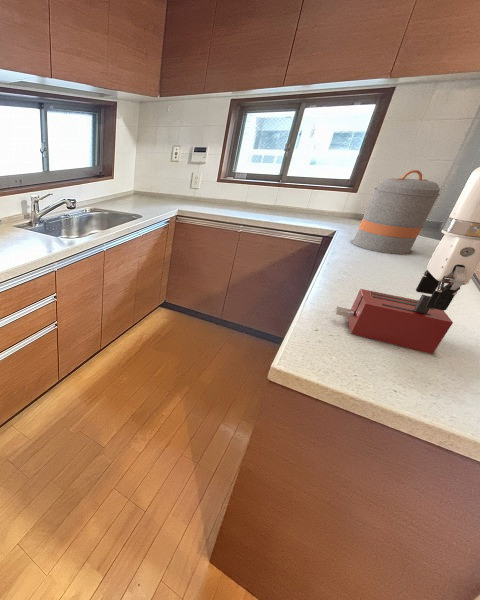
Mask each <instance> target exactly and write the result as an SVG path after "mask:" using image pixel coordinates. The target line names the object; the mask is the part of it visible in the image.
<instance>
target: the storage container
mask: <svg viewBox="0 0 480 600" xmlns="http://www.w3.org/2000/svg"><path fill="white" fill-rule="evenodd" d="M413 173H415V174H417V176H418V179H416V178H407V177H408V176H409V175H410V174H413ZM440 191H441V188H440V187H439V184H438V183H437V182H436V181H431V180H428V179H426V178H423V174H422V172H421V171H420V170H418V169H413V170H409V171H407V172H405V174H404V175H402V177H391V178H386V179H384V180H382V181H380V182H378V184H377V186H376V187H374V188H373V194H372V195H371V198H370V200H369V203H368V205H367V206H366V207H367V208H366V210H365V212H364V214H363V218H362V219H361V222H360V224H359V226H358V229H357V231H356V233H355V236H354V238H353V239H352V244H353V245H354V246H357V247H359V248H363V249H365V250H369V251H375V252H379V253H384V254H385V253H386V254H394V255H406V254H407V255H408V254H409V253H411V251H412V248H413V246H414V245H415V242H416V240H417V238H418V236H419V235H420V232H421V230H422V229H423V226H424V225H425V223H426V221H427V219H428V217H429V215H430V213H431V211H432V209H433V207H434V205H435V203H436V201H437V199H438V197H440V196H441V194H440Z"/></svg>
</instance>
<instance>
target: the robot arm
mask: <svg viewBox="0 0 480 600" xmlns="http://www.w3.org/2000/svg"><path fill="white" fill-rule="evenodd" d="M440 233H442V234H443V236H442V238H441V239H440V241H439V243H438V244H437V246H436V248H435V250H434V251H433V253H432V255H431V256H430V258H429V261H428V263H427V266H426V270H425V271H424V273H423V276H422V277H421V279H420V281H419V283H418V285H417V286H416V288H415V291H416V292H417V293H421V294H425V295H426V294H427V295H430V296H431V297H430V299H429V301H428V303H427V305H426V306H427V307H428V308H433V309H438V310H444V311H446V310H447V309H448V308H449V306H450V305H451V303H452V301H453V300H454V298H455V296H457V294H458V292H459V291H460V290H461V287H462V286H466V285H468V284H469V283H470V281H471V279H472V278H473V276H474V274H475V272H476V270H477V268H478V267H479V265H480V166H479V167H477V168H475V169H474V170H473V171H472V172H471V174H470V176H469V178H468V179H467V181H466V183H465V185H464V187H463V189H462V191H461V192H460V195H459V197H458V198H457V200H456V203H455V204H454V206H453V208H452V210H451V212H450V214H449V216H448V218H447V219H446V221H445V224H444V225H443V227H442V229H441V231H440Z"/></svg>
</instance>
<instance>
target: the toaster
mask: <svg viewBox="0 0 480 600" xmlns="http://www.w3.org/2000/svg"><path fill="white" fill-rule="evenodd" d="M418 301H419V299H415V298H409V297H404V296H398V295H393V294H389V293H384V292H379V291H374V290H369V289H364V288H360V289H359V291H358V293H357V295H356V297H355V300H354V302H353V304H352V305H351V308H350V309H351V310H353V312H354V316H353V318H350V317H347V322H348V326H349V331H350V334H351V335H354V336H355V335H356V336H359V337H362V338H367V339H370V340H374V341H379V342H382V343H386V344H390V345H394V346H398V347H402V348H406V349H410V350H414V351H418V352H422V353H426V354H430V355H433V354H434V353H435V352H436V350H437V348H438V347H439V345H440V344H441V342H442V341H443V339H444V337H445V336H446V334H447V333H448V331H450V328H451V327H452V326H453V323H454V322H453V320H452V319H451V318H450V317H449V315H448V314H447V313H446V311H445V310H438V309H433V308H430V309H429V311H428V312H427V314H423V313H419V312H415V310H414V308H415V306H416V305H417V303H418Z"/></svg>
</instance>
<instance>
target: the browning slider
mask: <svg viewBox="0 0 480 600" xmlns="http://www.w3.org/2000/svg"><path fill="white" fill-rule="evenodd" d="M431 296H432V295H426V294H422V295H421V296H420V298H419V299H418V300H419V301H418V303H417V305H416V306H415V308H414V310H415V312H419V313H423V314H427V312H428V311H429V309H430V308H428V307H427V306H426V305H427V303H428V301H429V299H430V297H431Z"/></svg>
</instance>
